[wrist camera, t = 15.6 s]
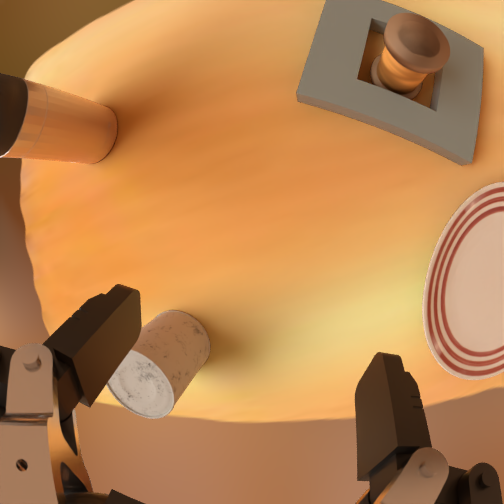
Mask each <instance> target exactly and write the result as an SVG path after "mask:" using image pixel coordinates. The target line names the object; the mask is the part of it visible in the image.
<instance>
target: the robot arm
mask: <svg viewBox="0 0 504 504" xmlns="http://www.w3.org/2000/svg"><path fill="white" fill-rule="evenodd" d="M116 135H117V119H116V116H115V114H114V112H113V111H112V110H111V109H110V108H108V107H106V106H103V105H101V104H98V103H95V102H93V101H90V100H87V99H84V98H82V97H79V96H76V95H73V94H70V93H67V92H64V91H61V90H58V89H55V88H52V87H49V86H46V85H42V84H39V83H35V82H32V81H29V80H25V79H22V78H18V77H14V76H10V75H5V74H1V73H0V157H10V158H28V159H42V160H54V161H65V162H75V163H85V164H94V163H97V162H99V161H100V160H102V159H103V158H104V157H105V156H106V155H107V154H108V153H109V151H110V150H111V148H112V146H113V145H114V142H115V139H116ZM140 332H141V305H140V293H139V291H138V290H136V289H133V288H130V287H127V286H124V285H121V284H117V285H115V286H114V287H113V288H112V289H111V290H110V291H109V292H108V293H107V294H106V295H105V294H102V293H101V294H99V295H97V296H95V297H93V298H90V299H88V300H87V301H86V302H85V303H84V304H83V305H82V306H81V307H80V308H79V310H77V311H76V312H75V313H74V314H73V315H72V317H70V318H68V319H67V320H66V321H65V322H64V323H63V324H62V325H61V326H60V327H59V328H58V329H57V330H56V331H55V332H54V333H53V334H52V335H51V336H50V337H49V338H48V339H47V340H46V341H45V342H44V343H43V344H38V343H29V344H26V345H23V346H21V347H20V348H18V349H17V350H14V349H10V348H7V347H3V346H0V504H144V503H142V502H140V501H137V500H135V499H133V498H130V497H128V496H125V495H123V494H121V493H119V492H117V491H115V490H113V489H112V490H111V492H110V494H109V495H107V494H101V493H94V492H93V488H92V485H91V481H90V478H89V475H88V473H87V470H86V468H85V466H84V462H83V459H82V454H81V449H80V442H79V437H78V429H77V422H76V414H75V409H74V408H75V407H76V405H77V404H78V402H80V403H82V404H84V405H86V406H88V407H91V405H92V404H93V402H94V401H95V400H96V398H97V397H98V395H99V394H100V392H101V391H102V390H103V388H104V387H105V385H106V384H107V382H108V381H109V380H110V378H111V377H112V375H113V374H114V372H115V371H116V370H117V368H118V367H119V365H120V364H121V363H122V361H123V360H124V358H125V357H126V356H127V354H128V353H129V351H130V350H131V349H132V347H133V346H134V345H135V343H136V342H137V340H138V338H139V336H140ZM420 397H421V396H420V392H419V389H418V385H417V383H416V381H415V380H414V378H413V377H412V376H411V374H410V373H409V372H405V371H404V367H403V363H402V360H401V357H400V356H399V355H394V354H388V353H382V352H378V353H377V354H376V355H375V356H374V358H373V359H372V361H371V363H370V365H369V366H368V368H367V370H366V371H365V373H364V375H363V376H362V378H361V379H360V381H359V383H358V385H357V388H356V392H355V411H356V431H357V480H358V481H370V488H369V489H367V490H366V491H365V493H364V494H363V495H362V496H361V497H360V498H359V499H358V501H357V502H356V503H355V504H503V503H502V496H501V489H500V483H499V477H498V475H497V472H496V470H495V469H494V468H493V467H492V466H491V465H489V464H487V463H478V464H476V465H475V466H474V467H472V468H471V469H470V470H468V471H467V470H463V469H459V468H455V467H451V466H449V465H448V462H447V460H446V458H445V457H444V455H443V454H442V453H441V452H440V451H438V450H436V449H434V448H432V445H431V441H430V435H429V431H428V426H427V421H426V417H425V413H424V409H422V408H423V404H422V400H421V399H420Z"/></svg>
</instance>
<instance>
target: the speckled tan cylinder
mask: <svg viewBox="0 0 504 504" xmlns="http://www.w3.org/2000/svg"><path fill="white" fill-rule="evenodd" d="M209 354H210V341H209V337H208V335H207V332H206V330H205V329H204V328H203V326H202V325H201V324H200V323H199V322H198V321H197V320H196V319H195V318H193V317H192V316H191V315H189V314H186V313H184V312H181V311H176V310H169V311H165V312H162V313H161V314H159V315H157V316H156V318H155V319H153V320H152V321H151V322H149V323H148V324H147V325H145V326H144V327H143V328H141V332H140V336H139V338H138V340H137V342H136V343H135V345H134V346H133V347H132V349H131V350H130V351H129V353H128V354H127V356H126V357H125V358H124V360H123V361H122V363H121V364H120V365H119V367H118V368H117V370H116V371H115V372H114V374H113V375H112V377H111V378H110V380H109V381H108V382H107V384H106V385H107V387H108V389H109V390H110V392H111V393H112V395H113V396H114V397H115V399H116V400H117V401H118V402H119V403H120V404H121V405H123V406H124V407H125V408H127V409H128V410H129V411H131V412H133V413H135V414H137V415H140V416H142V417H146V418H151V419H152V418H161V417H165V416H166V415H168V414H169V413H170V412H171V410H172V409H173V408H174V405H175V403H176V402H177V400H178V399H179V398H180V396H181V395H182V393H183V392H184V391H185V389H186V388H187V386H188V385H189V383H190V382H191V381H192V379H193V378H194V376H195V375H196V373H197V372H198V371H199V369H200V368H201V366H202V365H203V364H204V363H205V362H206V360H207V359H208V357H209Z"/></svg>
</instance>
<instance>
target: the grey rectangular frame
mask: <svg viewBox="0 0 504 504" xmlns="http://www.w3.org/2000/svg"><path fill="white" fill-rule="evenodd" d="M399 13H413V14H416V13H414V12H411V11H409V10H406V9H404V8H401V7H399V6H396V5H393V4H390V3H388V2H385V1H382V0H326V2H325V5H324V8H323V11H322V14H321V18H320V21H319V24H318V27H317V30H316V33H315V36H314V39H313V42H312V46H311V49H310V52H309V55H308V58H307V61H306V64H305V67H304V71H303V74H302V77H301V80H300V83H299V86H298V89H297V93H296V94H297V100H298V102H302V103H305V104H309V105H312V106H316V107H319V108H322V109H326V110H329V111H332V112H335V113H338V114H341V115H344V116H347V117H350V118H353V119H356V120H359V121H362V122H364V123H367V124H370V125H372V126H375V127H378V128H380V129H383V130H385V131H388V132H390V133H393V134H395V135H398V136H400V137H402V138H405V139H407V140H409V141H412V142H414V143H416V144H418V145H420V146H423V147H425V148H427V149H429V150H431V151H433V152H435V153H437V154H439V155H442V156H444V157H446V158H448V159H449V160H451V161H453V162H455V163H457V164H459V165H466V164H470V163H472V160H473V154H474V149H475V143H476V137H477V130H478V123H479V115H480V107H481V96H482V82H483V48H482V47H481V46H479V45H477V44H476V43H474V42H472V41H471V40H469V39H467V38H465V37H464V36H462V35H460V34H458V33H456V32H454V31H452V30H450V29H448V28H446V27H444V26H442V25H440V24H438V23H436V22H434V21H432V20H430V19H428V18H427V19H428V20H430V21H431V22H433V23H434V24H435V25H436V26H437V27H438V28H439V29H440V30H441V31H442V32H443V33H444V35H445V36H446V38H447V40H448V42H449V46H450V57H449V59H448V61H447V62H446V63H445V65H444V66H443V67H442V68H441V69H440V70H438V71H437V72H436V73H435V80H434V86H433V93H432V99H431V104H430V108H428V107H426V106H423V105H421V104H419V103H417V102H415V101H412V100H410V99H408V98H405V97H403V96H401V95H398V94H396V93H393V92H391V91H388V90H386V89H383V88H381V87H378V86H375V85H372V84H370V83H367V82H364V81H361V80H358V79H357V77H358V73H359V69H360V65H361V61H362V57H363V53H364V49H365V44H366V40H367V36H368V32H369V30H372V31H375V32H378V33H381V34H384V31H385V28H386V25H387V23H388V21H389V19H390V18H391V17H392V16H394V15H396V14H399ZM417 15H419V14H417ZM420 16H421V15H420ZM422 17H423V16H422Z"/></svg>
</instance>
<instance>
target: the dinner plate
mask: <svg viewBox="0 0 504 504" xmlns="http://www.w3.org/2000/svg"><path fill="white" fill-rule="evenodd" d="M422 316H423V327H424V332H425V337H426V340H427V343H428V346H429V348H430V351H431V353H432V354H433V356H434V358H435V359H436V361H437V362H438V363H439V364H440V366H441V367H442V368H443V369H445V370H446V371H447V372H449V373H450V374H452V375H454V376H456V377H459V378H462V379H467V380H481V379H486V378H490V377H493V376H496V375H498V374H500V373H502V372H504V182H497V183H493V184H490V185H487V186H485V187H483V188H481V189H480V190H478V191H476V192H475V193H473V194H472V195H471V196H470V197H469V198H467V199H466V200H465V201H464V202H463V203H462V204H461V205H460V207H459V208H458V209H457V210H456V211H455V213H454V214H453V215H452V217H451V218H450V220H449V221H448V223H447V225H446V226H445V228H444V230H443V232H442V234H441V236H440V238H439V240H438V242H437V244H436V247H435V249H434V252H433V255H432V257H431V260H430V264H429V268H428V271H427V275H426V280H425V286H424V291H423V303H422Z"/></svg>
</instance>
